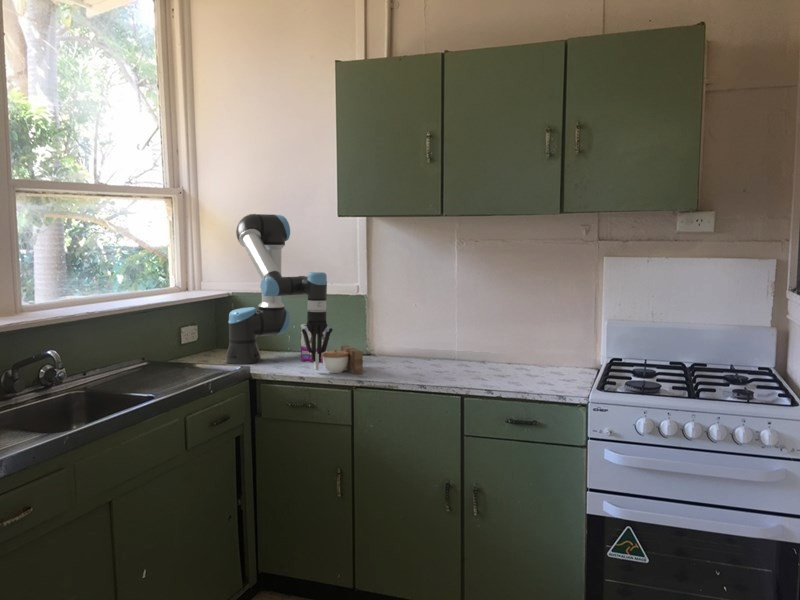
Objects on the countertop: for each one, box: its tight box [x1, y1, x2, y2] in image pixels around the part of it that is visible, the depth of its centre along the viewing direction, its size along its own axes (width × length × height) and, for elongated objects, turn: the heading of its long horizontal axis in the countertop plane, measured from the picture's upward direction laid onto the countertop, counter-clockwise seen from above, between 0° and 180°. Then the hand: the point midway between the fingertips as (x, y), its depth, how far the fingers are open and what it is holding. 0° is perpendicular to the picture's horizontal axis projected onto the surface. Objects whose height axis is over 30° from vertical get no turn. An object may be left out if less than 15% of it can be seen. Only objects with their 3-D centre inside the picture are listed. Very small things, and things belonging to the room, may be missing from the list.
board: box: [340, 344, 364, 375], centre depth 266 cm, size 18×3×9 cm, turn 24°
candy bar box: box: [300, 323, 329, 363], centre depth 287 cm, size 11×5×16 cm, turn 73°
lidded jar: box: [322, 348, 349, 374], centre depth 263 cm, size 11×11×9 cm
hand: (316, 369), depth 260 cm, fingers closed
